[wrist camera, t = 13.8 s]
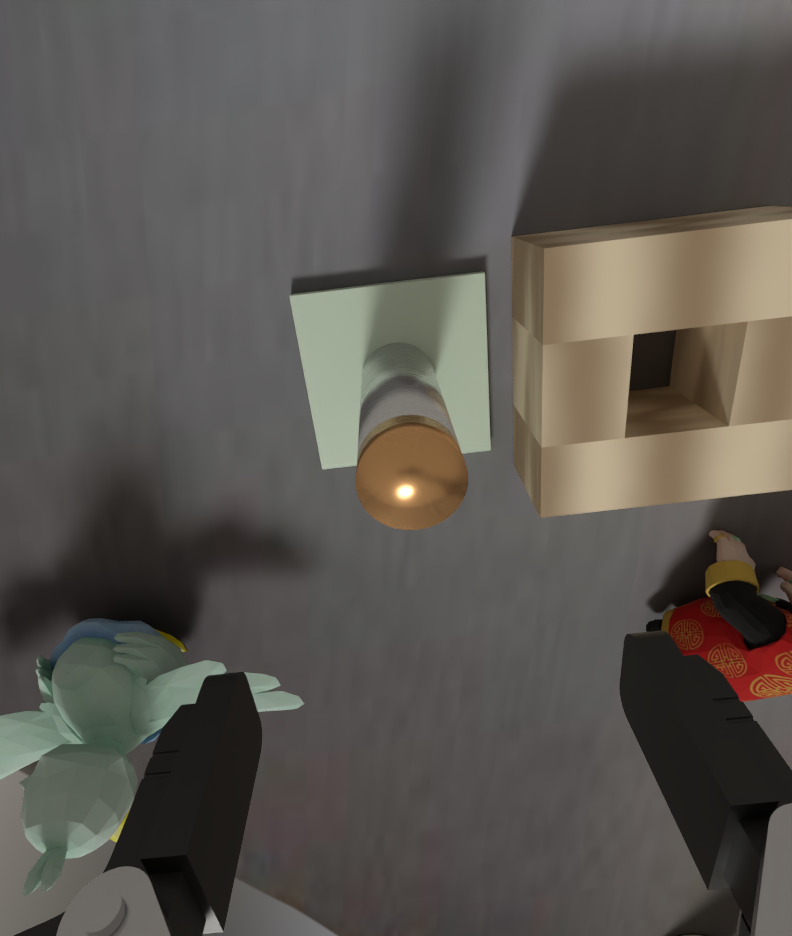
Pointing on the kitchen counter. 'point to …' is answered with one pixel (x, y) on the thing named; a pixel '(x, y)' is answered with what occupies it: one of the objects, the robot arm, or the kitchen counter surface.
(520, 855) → the kitchen counter surface
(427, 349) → the pad
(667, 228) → the bore block
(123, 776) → the toy
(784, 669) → the figurine
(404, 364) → the copper capped cylinder
